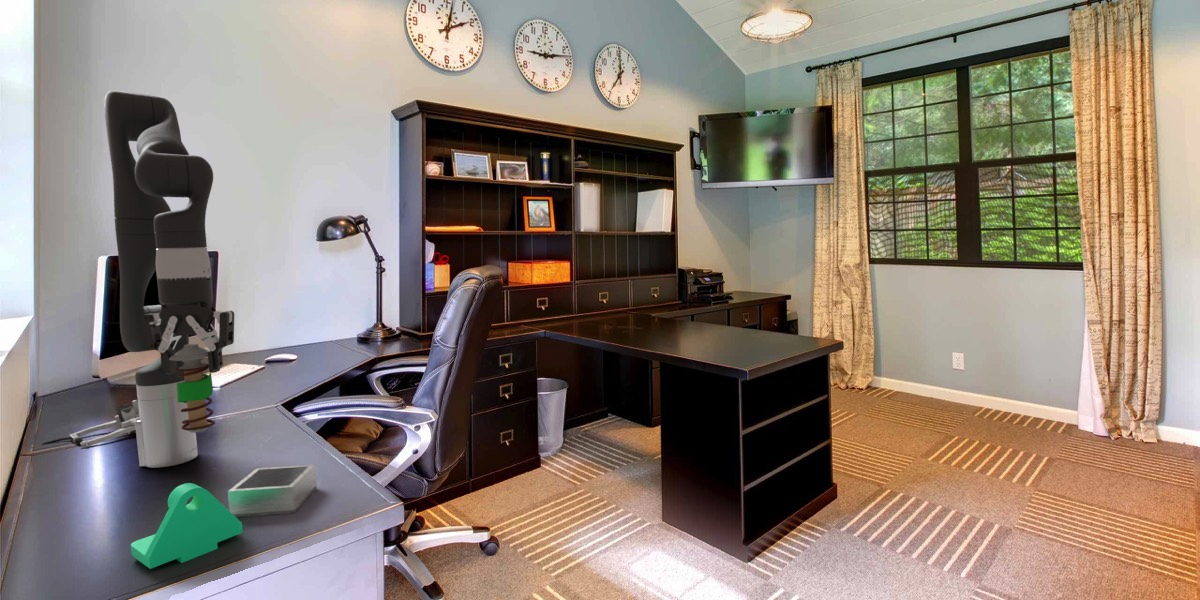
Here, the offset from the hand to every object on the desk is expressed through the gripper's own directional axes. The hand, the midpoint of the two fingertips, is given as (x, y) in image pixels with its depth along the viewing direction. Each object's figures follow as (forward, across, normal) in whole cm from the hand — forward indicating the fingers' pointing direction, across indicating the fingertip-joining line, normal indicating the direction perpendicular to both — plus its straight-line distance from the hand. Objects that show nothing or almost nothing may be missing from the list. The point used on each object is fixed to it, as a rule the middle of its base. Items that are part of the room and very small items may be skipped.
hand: (193, 372), depth 102 cm
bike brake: (+25, -47, +45) cm, 69 cm away
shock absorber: (+10, 0, 0) cm, 10 cm away
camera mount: (+24, +6, -16) cm, 29 cm away
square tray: (+23, +12, -1) cm, 26 cm away
